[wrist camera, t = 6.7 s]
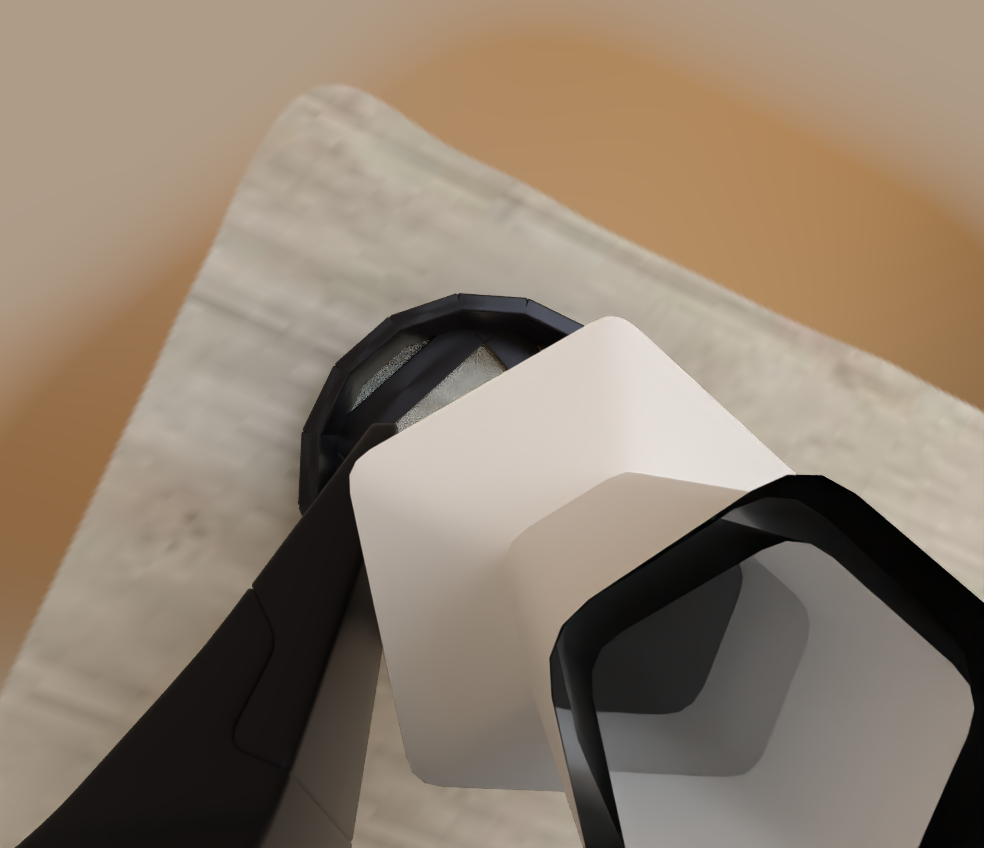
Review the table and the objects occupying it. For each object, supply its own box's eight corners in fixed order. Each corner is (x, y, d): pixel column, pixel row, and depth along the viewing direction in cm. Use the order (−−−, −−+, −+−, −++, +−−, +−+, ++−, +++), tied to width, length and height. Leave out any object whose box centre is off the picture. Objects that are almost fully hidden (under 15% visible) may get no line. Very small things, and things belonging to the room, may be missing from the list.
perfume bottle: (389, 484, 16) (-185, 909, 2) (477, 387, 17) (696, -30, 2) (492, 574, 17) (858, 1725, 2) (576, 476, 17) (1483, 730, 2)
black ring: (683, 474, 21) (727, 481, 18) (470, 684, 20) (475, 733, 17) (487, 255, 20) (496, 221, 17) (254, 460, 19) (217, 465, 16)
